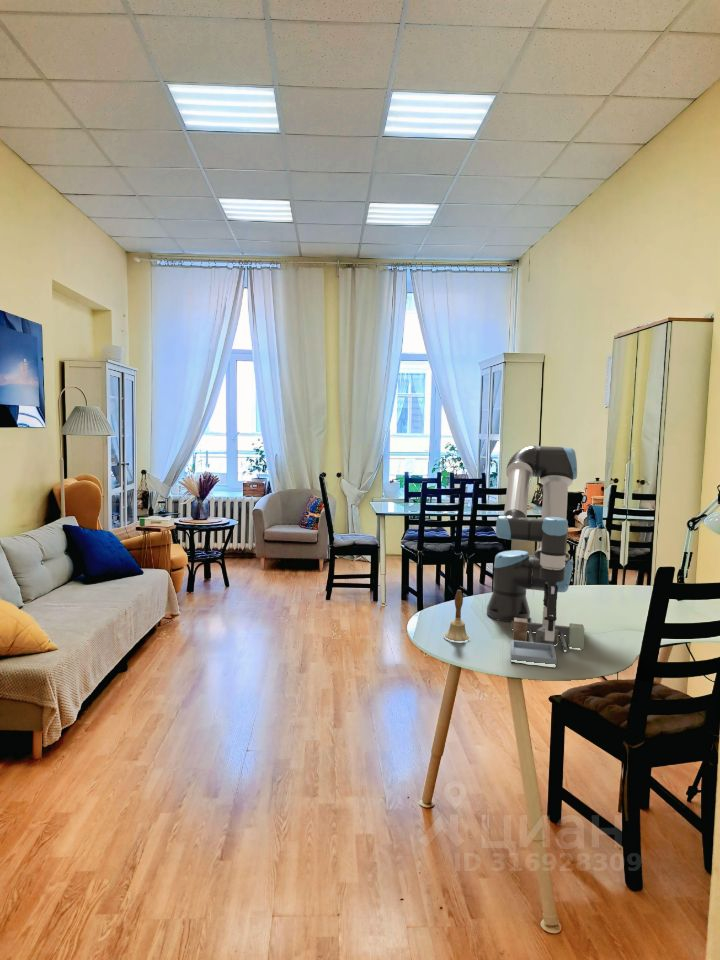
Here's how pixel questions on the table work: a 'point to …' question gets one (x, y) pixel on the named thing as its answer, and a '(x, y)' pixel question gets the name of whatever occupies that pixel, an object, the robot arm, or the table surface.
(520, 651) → the slate tray
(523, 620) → the walnut block
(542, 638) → the dice cube
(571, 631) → the sage block
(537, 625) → the grey bar frame
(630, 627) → the table surface
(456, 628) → the hand bell
